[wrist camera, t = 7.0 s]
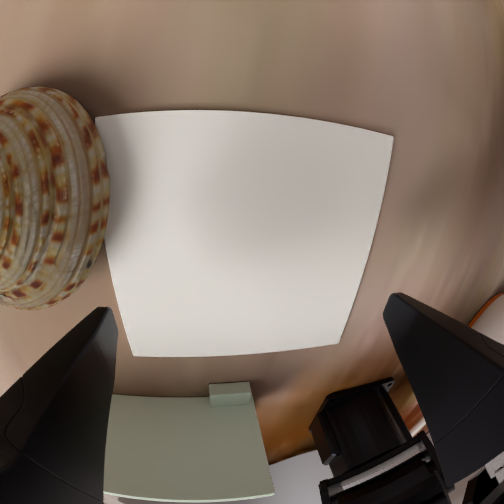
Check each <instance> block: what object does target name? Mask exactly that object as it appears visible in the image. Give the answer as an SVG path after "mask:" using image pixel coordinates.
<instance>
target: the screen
mask: <svg viewBox="0 0 504 504" xmlns="http://www.w3.org/2000/svg"><path fill="white" fill-rule="evenodd" d="M209 395H210V397H143V396H127V395H115V394H112V399H111V406H110V413H109V421H108V429H107V439H106V450H105V464H104V489H103V493H104V494H109V495H114V496H120V497H127V498H134V499H143V500H153V501H165V502H221V501H234V500H244V499H253V498H260V497H267V496H273V495H274V493H275V490H274V486H273V482H272V478H271V474H270V469H269V465H268V461H267V457H266V453H265V449H264V444H263V440H262V436H261V431H260V427H259V423H258V418H257V414H256V409H255V405H254V400H253V395H252V394H251V388H250V384H249V382H238V383H223V384H209Z"/></svg>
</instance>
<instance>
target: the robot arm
mask: <svg viewBox="0 0 504 504" xmlns="http://www.w3.org/2000/svg"><path fill="white" fill-rule="evenodd" d="M383 318H384V321H385V324H386V326H387V329H388V332H389V334H390V337H391V340H392V342H393V345H394V348H395V351H396V353H397V355H398V358H399V360H400V362H401V364H402V366H403V369H404V371H405V373H406V375H407V378H408V380H409V382H410V385H411V387H412V389H413V392H414V394H415V396H416V399H417V401H418V404H419V406H420V409H421V411H422V414H423V416H424V419H425V422H426V424H427V427H428V430H429V432H430V435H431V438H432V441H433V443H434V446H433V445H432V443H431V441H430V440H429V438H428V437H427V435H426V433H425V432H424V430H423V431H421V432H420V433H418V434H417V436H415V437H414V438H412V436H411V434H410V432H409V430H408V428H407V426H406V425H405V423H404V421H403V419H402V417H401V415H400V414H399V412H398V410H397V408H396V406H395V405H394V403H393V401H392V399H391V397H390V396H389V394H388V391H389V390H390V388H391V387H392V386H393V384H394V383H395V381H394V379H393V378H392V377H391V378H388V379H384V380H381V381H378V382H375V383H371V384H368V385H364V386H360V387H357V388H353V389H349V390H345V391H341V392H336V393H332V394H330V395H328V396H327V397H326V398H325V400H324V402H323V403H322V405H321V407H320V409H319V411H318V413H317V414H316V416H315V418H314V420H313V421H312V423H311V425H310V426H309V431H310V433H312V435H313V438H314V441H315V444H316V447H317V450H318V452H319V455H320V458H321V461H322V464H324V465H328V464H329V466H330V469H331V471H332V474H333V477H334V478H331V479H326V480H323V481H320V484H319V485H318V486H319V489H320V495H321V500H322V504H451V501H450V498H449V496H448V494H449V493H451V492H452V491H454V490H455V486H454V484H455V483H457V482H458V481H460V480H462V479H463V478H465V477H467V476H469V475H470V474H472V473H473V472H475V471H477V470H478V469H480V468H481V467H483V466H484V468H483V469H481V470H480V471H479V472H478V473H477V474H476V475H475V476H474V477H472V478H471V479H470V480H469V481H468V484H467V488H466V492H465V495H464V499H463V502H462V504H504V345H503V344H501V343H499V342H497V341H495V340H493V339H491V338H489V337H487V336H485V335H484V334H482V333H480V332H478V331H476V330H474V329H472V328H470V327H468V326H467V325H465V324H463V323H461V322H459V321H457V320H455V319H453V318H451V317H449V316H447V315H445V314H443V313H442V312H440V311H438V310H436V309H434V308H432V307H430V306H428V305H426V304H424V303H422V302H420V301H418V300H416V299H414V298H412V297H410V296H408V295H406V294H404V293H401V292H399V293H393V294H391V295H390V297H389V299H388V302H387V304H386V306H385V309H384V311H383ZM117 341H118V328H117V325H116V322H115V318H114V315H113V311H112V309H111V308H110V307H97V308H96V309H94V310H93V311H92V312H91V313H90V314H89V315H87V316H86V317H85V318H84V319H83V320H82V321H81V322H79V323H78V324H77V325H76V326H75V327H74V328H73V329H72V330H70V331H69V332H68V333H67V334H66V335H65V336H64V337H63V338H61V339H60V340H59V341H58V342H57V343H56V344H55V345H54V346H53V347H52V348H51V349H49V350H48V351H47V352H46V353H45V354H44V355H43V356H42V357H41V358H40V359H39V360H38V361H37V362H36V363H35V364H34V365H33V366H32V367H31V368H29V369H28V370H27V371H26V372H25V373H24V374H23V376H22V377H20V378H19V379H18V380H17V381H16V382H15V383H14V384H13V385H12V386H11V387H10V388H9V389H8V390H7V391H6V392H5V393H4V394H3V395H2V396H1V397H0V504H104V503H103V489H104V464H105V450H106V439H107V429H108V421H109V413H110V406H111V399H112V392H113V386H114V379H115V365H116V352H117ZM434 447H435V448H434ZM418 448H419V450H420V453H418V454H416V455H415V456H413V457H411V458H409V459H408V460H406V461H404V462H402V463H401V464H399V465H397V466H395V467H393V468H392V469H390V470H388V471H386V472H384V473H382V474H380V475H378V476H376V477H373V478H371V479H369V480H367V481H365V482H362V483H361V484H358V485H356V486H353V487H351V488H348V489H346V490H343V488H342V487H343V486H345V485H348V484H350V483H353V482H355V481H357V480H359V479H362V478H364V477H366V476H369V475H371V474H373V473H375V472H377V471H379V470H381V469H383V468H385V467H387V466H389V465H391V464H393V463H394V462H396V461H398V460H400V459H402V458H403V457H405V456H407V455H408V454H410V453H412V452H414V451H415V450H417V449H418Z"/></svg>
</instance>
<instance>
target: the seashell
mask: <svg viewBox="0 0 504 504" xmlns="http://www.w3.org/2000/svg"><path fill="white" fill-rule="evenodd" d="M109 203H110V177H109V172H108V167H107V160H106V151H105V148H104V145H103V142H102V140H101V137H100V135H99V132H98V129H97V127H96V126H95V124H94V122H93V121H92V119H91V117H90V115H89V114H88V113H87V111H86V110H85V109H84V108H83V107H82V106H81V105H80V104H79V103H78V101H77V100H76V99H74V98H73V97H71V96H70V95H68V94H67V93H65V92H62V91H60V90H57V89H54V88H48V87H28V88H22V89H18V90H14V91H12V92H10V93H7V94H5V95H3V96H1V97H0V304H2V305H5V306H11V307H14V308H17V309H21V310H39V309H42V308H47V307H50V306H52V305H54V304H57V303H59V302H61V301H62V300H64V299H66V298H67V297H69V296H70V295H71V294H72V293H74V292H76V291H77V289H78V288H79V287H80V286H81V284H82V283H83V282H84V281H85V279H86V278H87V276H88V275H89V273H90V271H91V269H92V267H93V265H94V263H95V260H96V258H97V256H98V254H99V251H100V248H101V245H102V243H103V239H104V235H105V232H106V227H107V220H108V214H109Z"/></svg>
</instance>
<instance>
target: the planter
mask: <svg viewBox="0 0 504 504" xmlns="http://www.w3.org/2000/svg"><path fill="white" fill-rule="evenodd" d="M468 327H470V328H472V329H474V330H476V331H478V332H480V333H482V334H484V335H485V336H487V337H489V338H491V339H493V340H495V341H497V342H499V343H501V344H503V345H504V293H499V294H497V295H496V296H494V297H493V298H492V299H490V300H489V301H488V302H487V303H486V304H485V305H484V306H483V307H482V308H481V309H480V311H479V312H478V313H477V314H476V315H475V317H474V318H473V319H472V320H471V322H470V323H469V324H468Z"/></svg>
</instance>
